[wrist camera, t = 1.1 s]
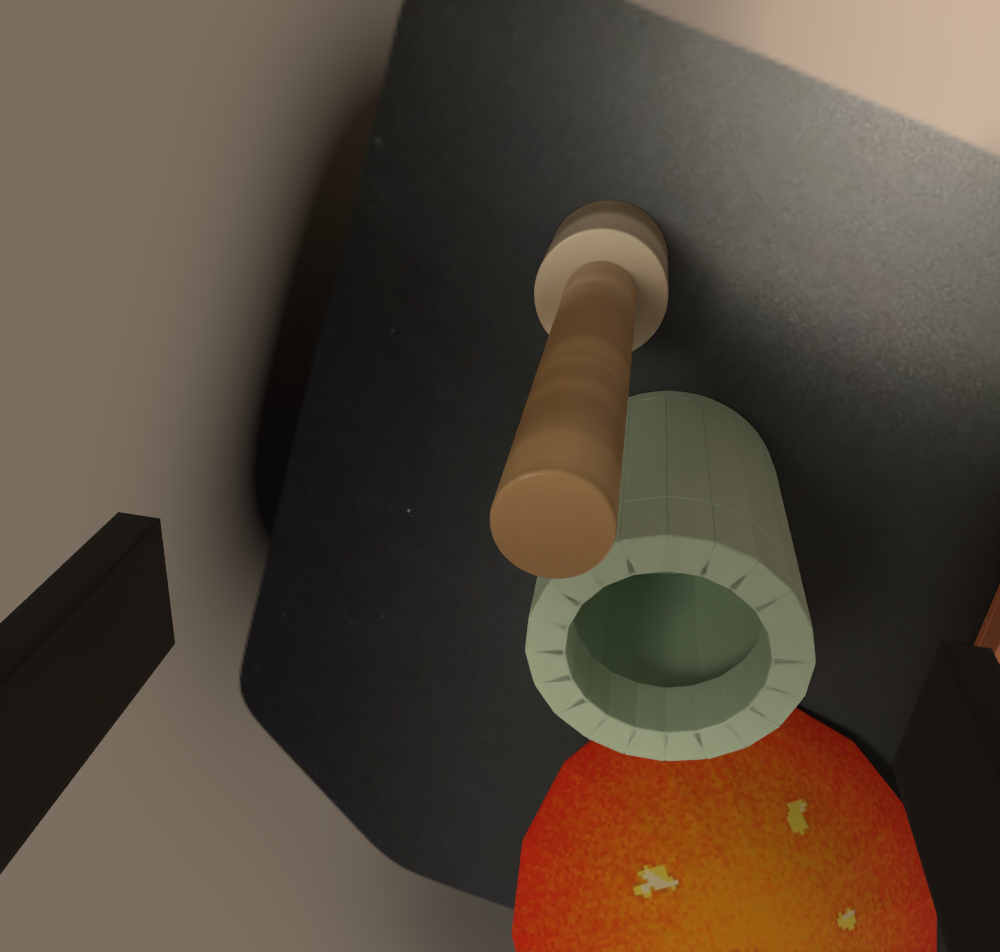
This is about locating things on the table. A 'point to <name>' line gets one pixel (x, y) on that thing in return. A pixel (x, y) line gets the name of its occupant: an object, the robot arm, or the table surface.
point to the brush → (580, 390)
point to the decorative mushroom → (724, 853)
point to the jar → (681, 596)
